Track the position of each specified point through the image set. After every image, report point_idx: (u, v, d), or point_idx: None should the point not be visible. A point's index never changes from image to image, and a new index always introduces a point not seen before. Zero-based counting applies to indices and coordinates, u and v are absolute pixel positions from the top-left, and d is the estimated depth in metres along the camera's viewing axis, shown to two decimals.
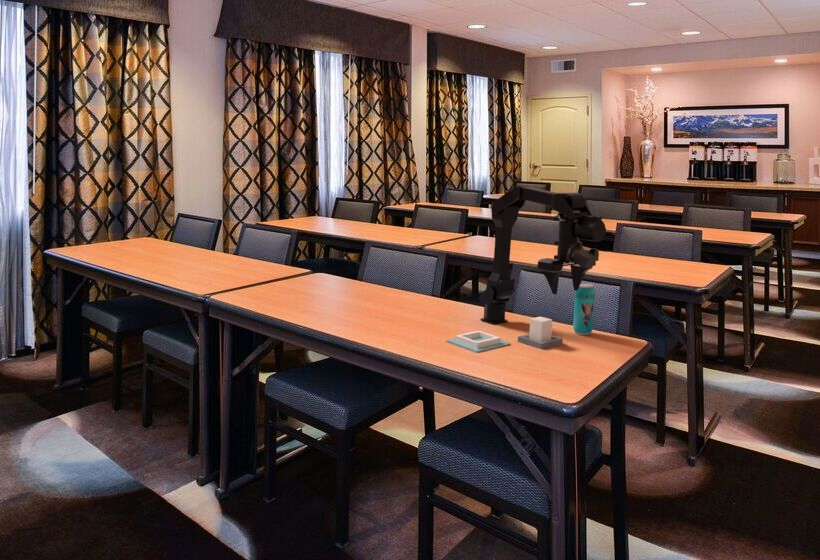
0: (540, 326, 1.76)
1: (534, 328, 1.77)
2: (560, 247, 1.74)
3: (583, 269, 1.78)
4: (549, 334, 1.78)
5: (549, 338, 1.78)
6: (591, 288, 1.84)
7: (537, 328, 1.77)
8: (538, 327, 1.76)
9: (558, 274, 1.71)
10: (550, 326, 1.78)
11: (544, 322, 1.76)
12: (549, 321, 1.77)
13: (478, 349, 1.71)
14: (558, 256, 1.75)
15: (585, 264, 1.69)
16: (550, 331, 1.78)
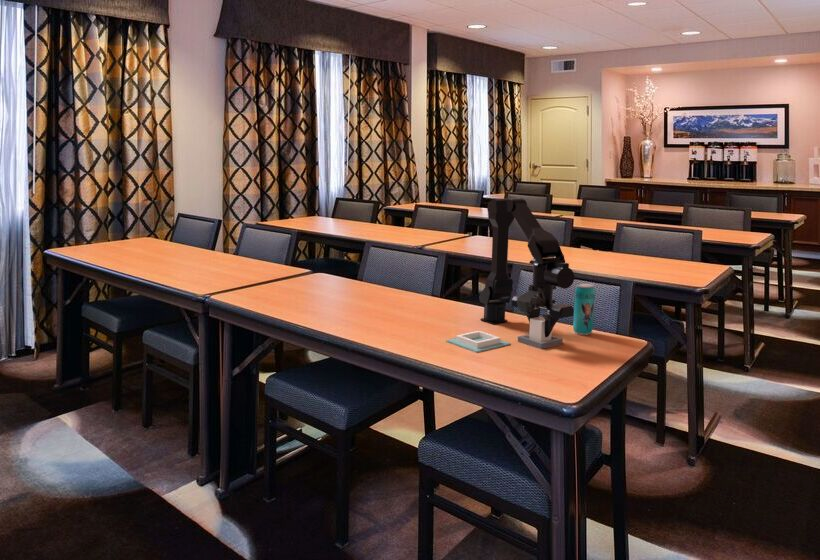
0: (540, 326, 1.76)
1: (534, 327, 1.77)
2: None
3: None
4: None
5: (549, 338, 1.78)
6: (591, 288, 1.84)
7: (537, 328, 1.77)
8: (538, 327, 1.76)
9: (524, 312, 1.80)
10: None
11: (544, 322, 1.76)
12: None
13: (478, 349, 1.71)
14: None
15: (518, 305, 1.74)
16: None
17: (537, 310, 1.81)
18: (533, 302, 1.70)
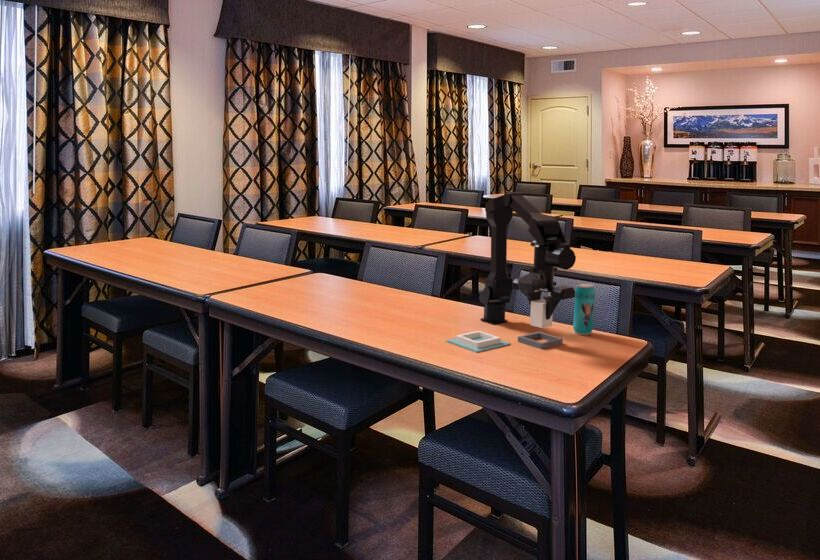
0: (541, 309, 1.75)
1: (535, 310, 1.76)
2: None
3: None
4: None
5: (550, 320, 1.77)
6: (591, 288, 1.84)
7: (538, 310, 1.76)
8: (539, 309, 1.75)
9: (525, 294, 1.78)
10: None
11: (545, 304, 1.75)
12: None
13: (478, 349, 1.71)
14: None
15: (519, 287, 1.73)
16: None
17: (538, 293, 1.80)
18: (534, 283, 1.69)
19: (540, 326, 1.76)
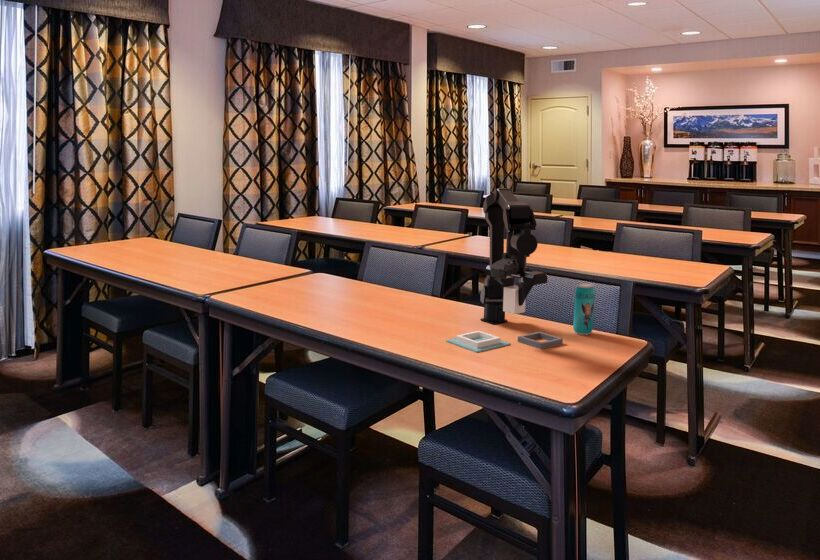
0: (513, 295, 1.74)
1: (508, 296, 1.75)
2: None
3: None
4: (523, 303, 1.76)
5: (523, 307, 1.76)
6: (591, 288, 1.84)
7: (511, 296, 1.74)
8: (512, 295, 1.74)
9: (498, 281, 1.77)
10: None
11: (518, 290, 1.74)
12: None
13: (478, 349, 1.71)
14: None
15: (491, 273, 1.72)
16: None
17: (511, 279, 1.79)
18: (506, 269, 1.67)
19: (513, 312, 1.74)
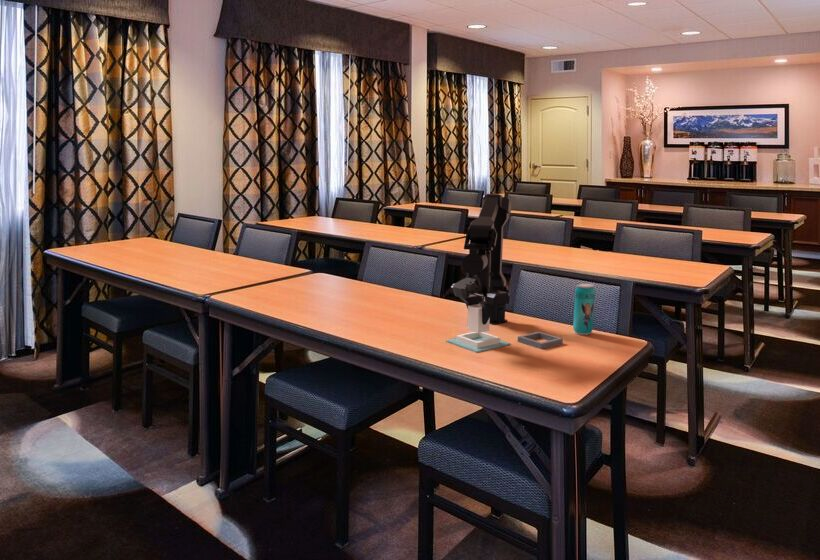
0: (477, 313, 1.74)
1: (472, 315, 1.76)
2: None
3: None
4: (487, 321, 1.76)
5: (487, 325, 1.77)
6: (591, 288, 1.84)
7: (474, 315, 1.75)
8: (476, 314, 1.74)
9: (463, 299, 1.78)
10: None
11: (481, 309, 1.74)
12: None
13: (478, 349, 1.71)
14: None
15: (454, 292, 1.72)
16: None
17: (476, 297, 1.79)
18: (468, 289, 1.68)
19: (476, 331, 1.75)
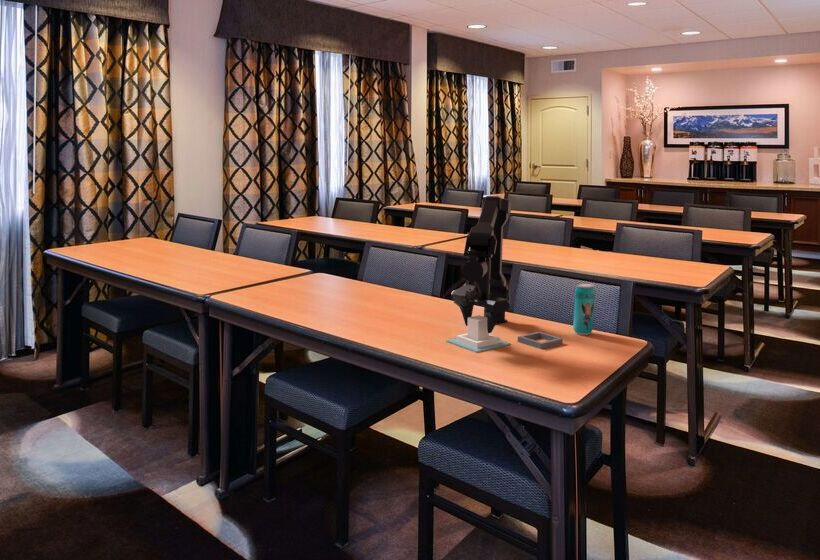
0: (476, 325, 1.75)
1: (471, 326, 1.76)
2: None
3: None
4: (487, 333, 1.77)
5: (487, 337, 1.77)
6: (591, 288, 1.84)
7: (474, 326, 1.76)
8: (475, 326, 1.75)
9: (457, 304, 1.80)
10: None
11: (481, 321, 1.75)
12: (486, 320, 1.76)
13: (478, 349, 1.71)
14: None
15: (454, 299, 1.73)
16: None
17: (470, 303, 1.81)
18: (468, 296, 1.68)
19: None
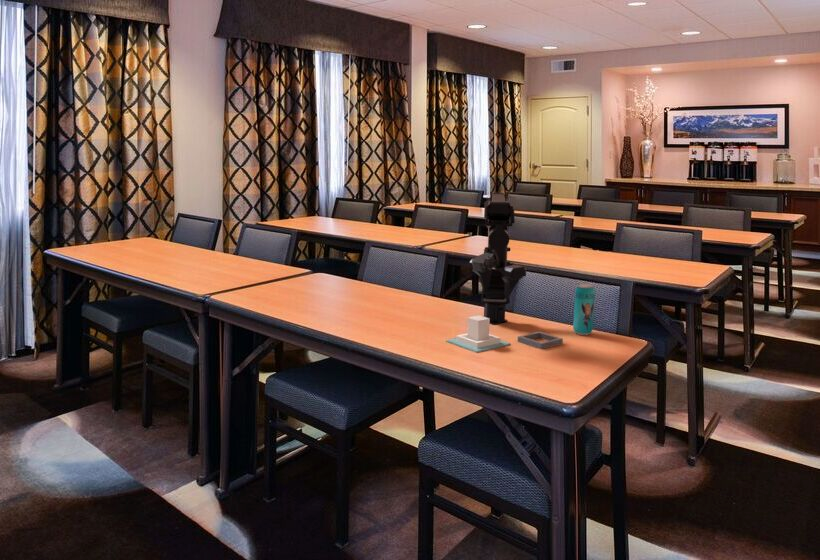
0: (476, 325, 1.75)
1: (471, 326, 1.76)
2: None
3: None
4: (487, 333, 1.77)
5: (487, 337, 1.77)
6: (591, 288, 1.84)
7: (474, 326, 1.76)
8: (475, 326, 1.75)
9: (476, 272, 1.88)
10: (487, 325, 1.77)
11: (481, 321, 1.75)
12: (486, 320, 1.76)
13: (478, 349, 1.71)
14: None
15: (473, 267, 1.81)
16: (488, 330, 1.77)
17: (488, 271, 1.90)
18: (486, 263, 1.77)
19: None
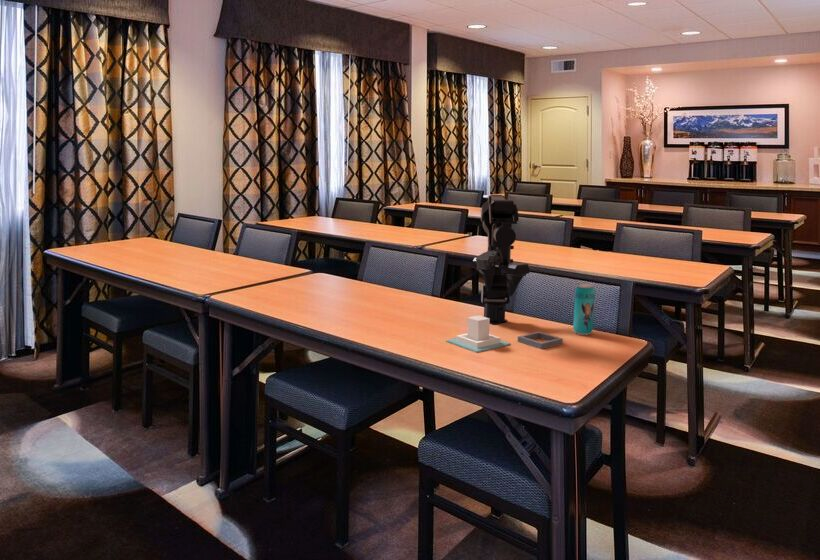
0: (476, 325, 1.75)
1: (471, 326, 1.76)
2: None
3: None
4: (487, 333, 1.77)
5: (487, 337, 1.77)
6: (591, 288, 1.84)
7: (474, 326, 1.76)
8: (475, 326, 1.75)
9: (479, 271, 1.90)
10: (487, 325, 1.77)
11: (481, 321, 1.75)
12: (486, 320, 1.76)
13: (478, 349, 1.71)
14: None
15: (477, 264, 1.83)
16: (488, 330, 1.77)
17: (491, 269, 1.91)
18: (490, 260, 1.78)
19: None
